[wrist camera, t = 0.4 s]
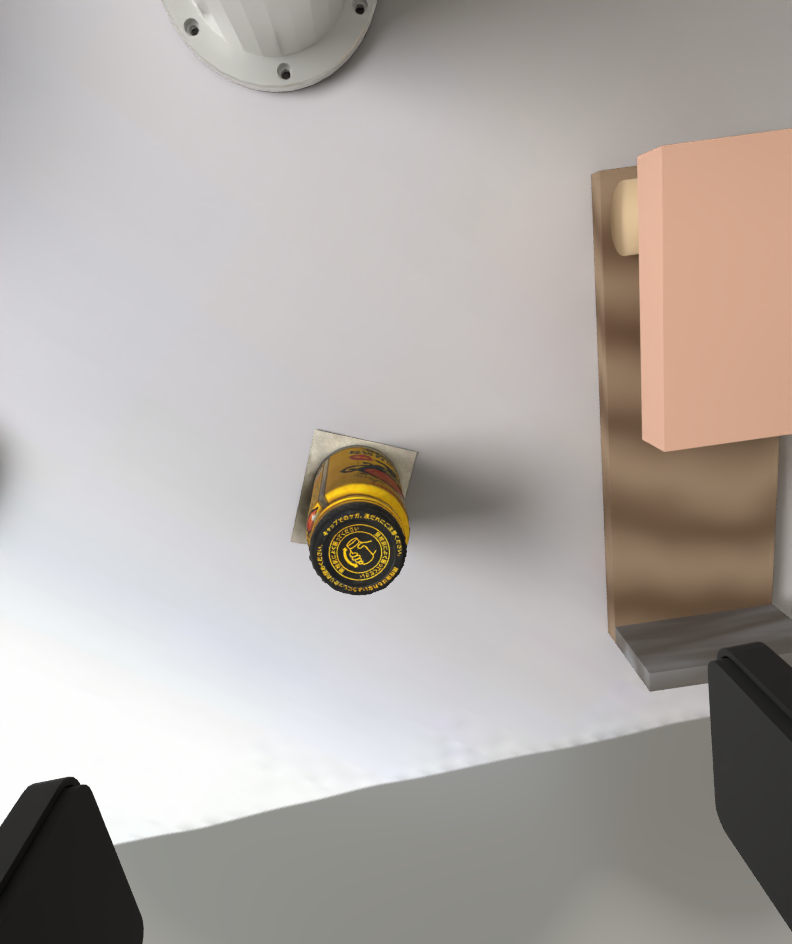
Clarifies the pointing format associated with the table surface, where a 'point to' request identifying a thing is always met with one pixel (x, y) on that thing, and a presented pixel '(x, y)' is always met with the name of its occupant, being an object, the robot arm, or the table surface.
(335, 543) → the condiment
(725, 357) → the pink toy brick
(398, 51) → the table surface
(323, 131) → the table surface
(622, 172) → the track
